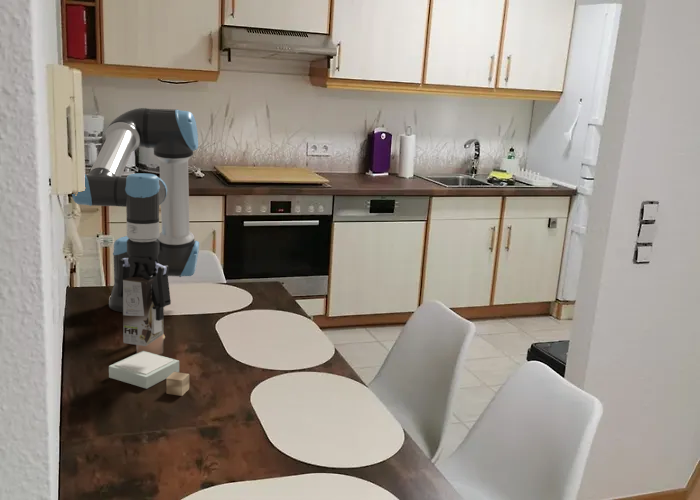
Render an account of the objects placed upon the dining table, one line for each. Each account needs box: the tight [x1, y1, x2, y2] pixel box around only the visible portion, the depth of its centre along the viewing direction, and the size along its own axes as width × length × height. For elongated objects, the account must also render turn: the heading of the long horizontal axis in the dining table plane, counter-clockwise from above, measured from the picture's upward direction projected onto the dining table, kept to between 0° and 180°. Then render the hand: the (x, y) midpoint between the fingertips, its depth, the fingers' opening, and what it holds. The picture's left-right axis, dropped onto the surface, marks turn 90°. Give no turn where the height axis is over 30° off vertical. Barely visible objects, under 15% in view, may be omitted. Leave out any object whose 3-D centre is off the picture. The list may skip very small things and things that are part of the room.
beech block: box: [165, 371, 190, 397], centre depth 160 cm, size 4×4×4 cm
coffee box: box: [122, 276, 164, 346], centre depth 164 cm, size 9×6×16 cm
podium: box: [108, 351, 180, 389], centre depth 168 cm, size 12×12×3 cm
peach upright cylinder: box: [135, 335, 164, 356], centre depth 182 cm, size 7×7×9 cm
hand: (144, 328), depth 165 cm, fingers closed on coffee box, 7 cm apart
